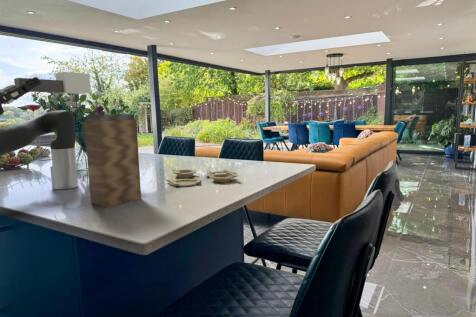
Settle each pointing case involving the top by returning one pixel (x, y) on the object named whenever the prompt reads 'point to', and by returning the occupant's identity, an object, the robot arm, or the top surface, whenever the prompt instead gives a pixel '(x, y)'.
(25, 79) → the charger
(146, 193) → the top surface
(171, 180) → the tableware set
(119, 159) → the wood-grain topped box
